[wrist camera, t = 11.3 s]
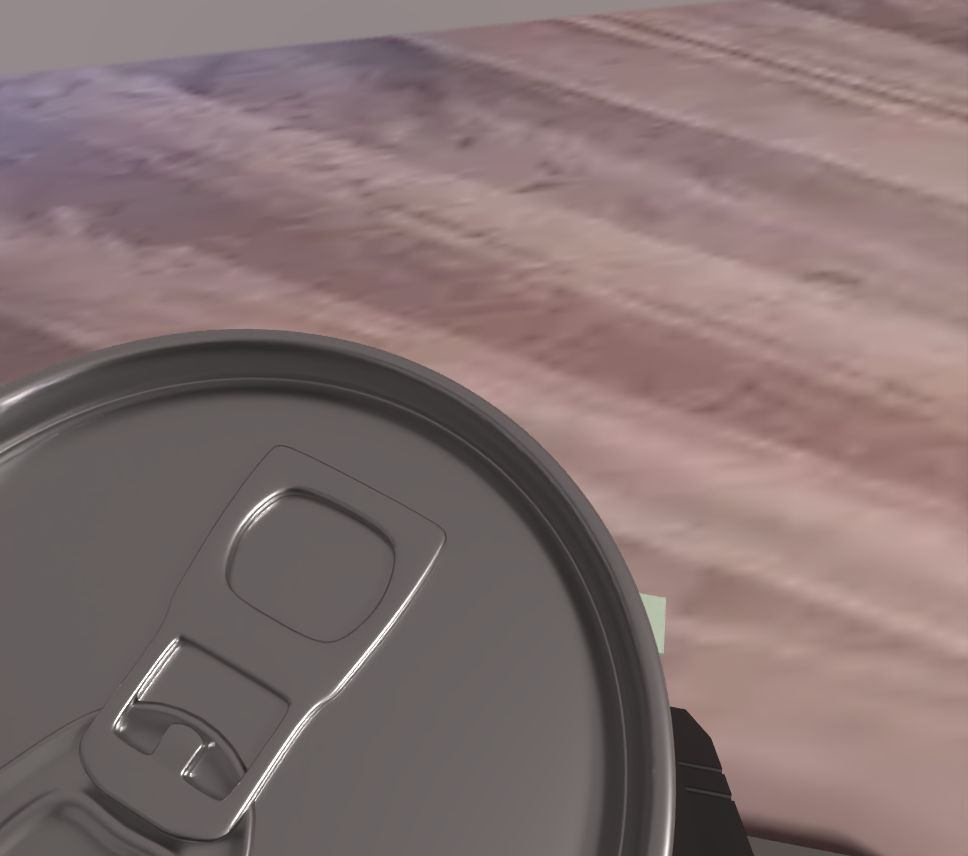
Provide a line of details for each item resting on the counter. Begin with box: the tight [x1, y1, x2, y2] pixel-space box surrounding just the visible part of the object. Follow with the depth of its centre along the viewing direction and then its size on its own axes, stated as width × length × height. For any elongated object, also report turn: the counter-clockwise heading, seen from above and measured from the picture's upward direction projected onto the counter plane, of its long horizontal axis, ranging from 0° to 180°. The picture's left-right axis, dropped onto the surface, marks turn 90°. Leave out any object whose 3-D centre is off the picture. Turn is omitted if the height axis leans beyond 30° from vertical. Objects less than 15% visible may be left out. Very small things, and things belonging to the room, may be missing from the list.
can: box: [0, 329, 676, 856], centre depth 9 cm, size 6×6×12 cm
